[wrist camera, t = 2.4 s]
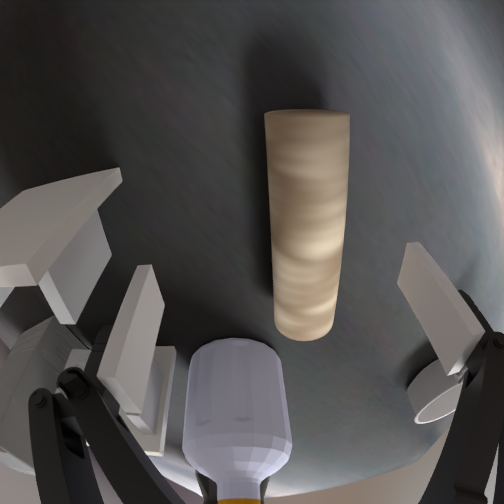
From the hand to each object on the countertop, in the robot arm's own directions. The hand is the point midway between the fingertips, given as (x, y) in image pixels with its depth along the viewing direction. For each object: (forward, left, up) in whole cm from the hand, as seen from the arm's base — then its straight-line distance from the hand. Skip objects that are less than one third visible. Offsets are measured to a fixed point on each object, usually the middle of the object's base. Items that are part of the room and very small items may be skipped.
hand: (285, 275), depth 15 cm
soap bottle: (-16, +4, -7) cm, 18 cm away
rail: (0, 0, -6) cm, 6 cm away
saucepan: (-22, -23, -7) cm, 32 cm away
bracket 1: (+3, +14, -6) cm, 16 cm away
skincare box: (-12, +24, -7) cm, 28 cm away
